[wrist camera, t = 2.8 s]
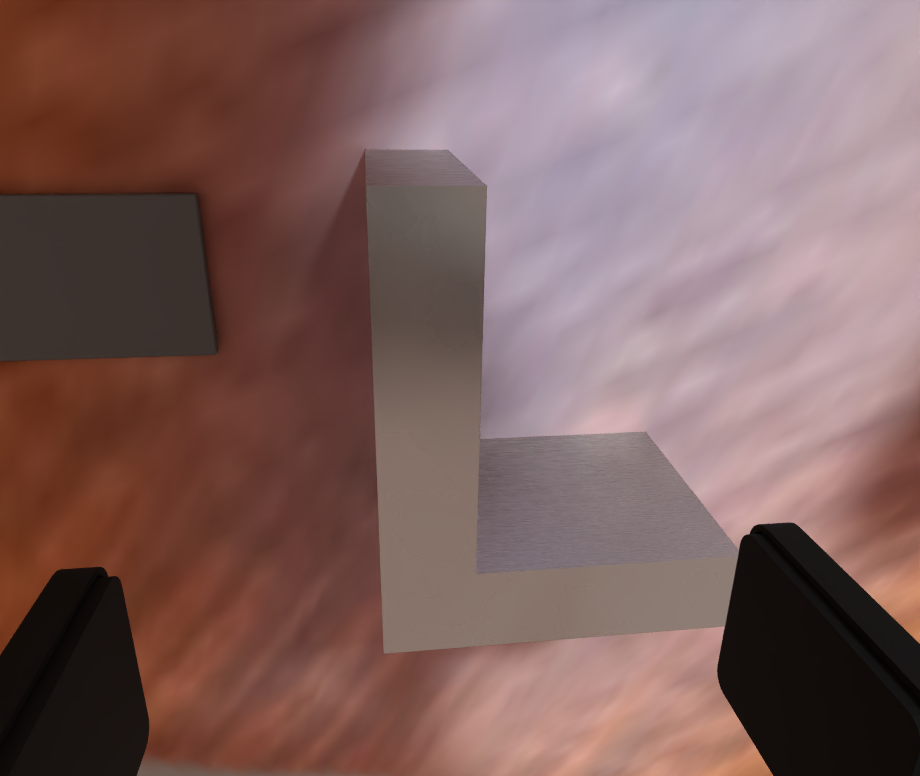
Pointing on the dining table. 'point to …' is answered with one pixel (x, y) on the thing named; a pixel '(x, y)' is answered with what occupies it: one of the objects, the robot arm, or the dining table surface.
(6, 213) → the pose mat
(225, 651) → the dining table surface
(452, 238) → the angle bracket
